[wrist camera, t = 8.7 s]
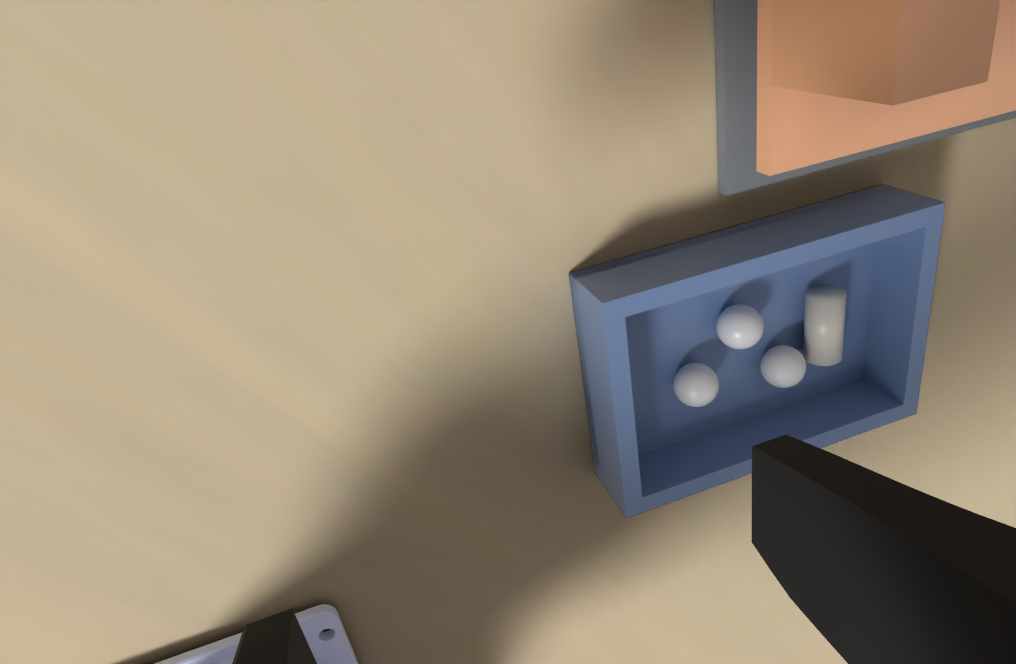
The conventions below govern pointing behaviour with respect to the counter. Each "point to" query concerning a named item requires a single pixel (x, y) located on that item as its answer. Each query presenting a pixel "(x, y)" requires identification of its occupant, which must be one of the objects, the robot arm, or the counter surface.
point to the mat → (740, 105)
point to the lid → (876, 73)
